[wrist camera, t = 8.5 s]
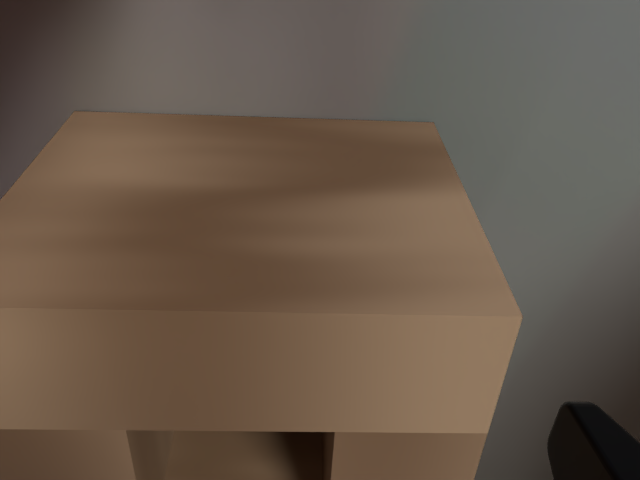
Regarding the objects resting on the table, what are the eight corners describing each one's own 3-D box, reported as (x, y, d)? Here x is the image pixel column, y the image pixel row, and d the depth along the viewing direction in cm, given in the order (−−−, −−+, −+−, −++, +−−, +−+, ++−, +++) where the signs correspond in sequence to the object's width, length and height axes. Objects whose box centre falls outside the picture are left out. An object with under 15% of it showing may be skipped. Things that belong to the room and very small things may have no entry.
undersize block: (433, 122, 10) (523, 317, 6) (394, 372, 14) (434, 609, 9) (74, 110, 10) (-89, 306, 6) (123, 369, 13) (42, 611, 9)
